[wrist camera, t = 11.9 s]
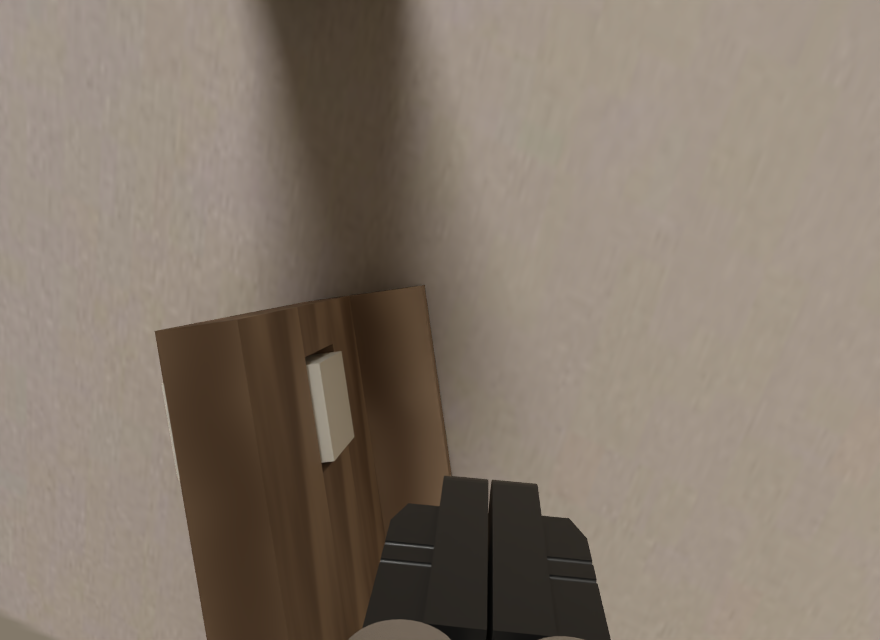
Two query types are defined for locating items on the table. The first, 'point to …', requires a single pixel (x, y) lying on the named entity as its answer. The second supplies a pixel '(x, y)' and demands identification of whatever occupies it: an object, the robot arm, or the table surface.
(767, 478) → the table surface
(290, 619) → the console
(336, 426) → the key white
